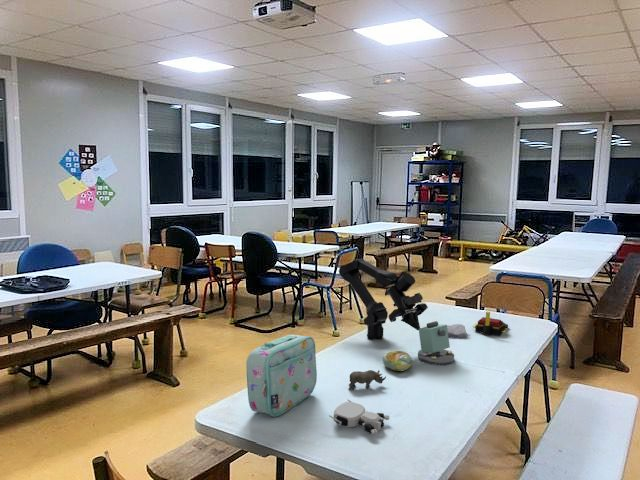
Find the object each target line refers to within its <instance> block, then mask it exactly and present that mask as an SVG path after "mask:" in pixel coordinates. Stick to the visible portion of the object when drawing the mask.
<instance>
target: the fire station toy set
mask: <svg viewBox="0 0 640 480" xmlns="http://www.w3.org/2000/svg"><path fill="white" fill-rule="evenodd" d="M472 327H473V328H475V329H474V330H475V331H474V332H475V333H476V332H477V333H481V334H482V335H484V336H493V335H494V336H501V335H502V334H503V333H505V332H507V330H508V328H509V323H505V322H504V321H503V320H502V319H498V318H497V319H496V318H491V311H486V312H485V316H483V317H481V318H480V319H479V320H477V323H474V324H473V325H472Z"/></svg>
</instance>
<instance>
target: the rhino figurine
mask: <svg viewBox="0 0 640 480" xmlns="http://www.w3.org/2000/svg"><path fill="white" fill-rule="evenodd" d="M386 378H387V376H386V375H385V376H384V377H383V373H380V369H378V370H377V371H375V370H371V369H370V370H365V371H352V372H351V373H350V374H349V382H350V383H349V384H348V390H349V391H353V390H354V388H356V387H357V386H356V384H357V383H359V384H361V385H364V384H365V389H367V390H369V389H371V387H370V386H371V385H370V384H371V383H372V382H373V381H375V382H376V383H378V384H382V383H383V382H384V381H385V380H386Z"/></svg>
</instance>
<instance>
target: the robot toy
mask: <svg viewBox="0 0 640 480" xmlns="http://www.w3.org/2000/svg"><path fill="white" fill-rule="evenodd" d="M346 400H347V401H346V402H343V403H341V404H339V405H337V406H336V408H335V409H334V411H333V416H332V415H331V414H329V415H328V417H329V418H331V419H333V421H334V422H335V424H337V425H340V427H343V428H353V427H356V426H360V427H361V428H363V429H364V431H365V432H367V433H368V434H372V435H376V434H378V431H380V430H381V429H383V428H384V426H385V423H384V422H385V421H384V420H386V421H389V420H390V415H387V414H384V412H383V413H382V412H376V413H375V412H373V411H368V410H367V411H366V408H365V406H363V404H359V403H356V402H353V401H352V400H350V399H346Z"/></svg>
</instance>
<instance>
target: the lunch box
mask: <svg viewBox="0 0 640 480" xmlns="http://www.w3.org/2000/svg"><path fill="white" fill-rule="evenodd" d="M316 356H317V355H316V343H315V340H314V338H313V337H312V336H304V335H297V334H293V333H292V334H288V335H284V336H283V337H278V338H276V339H274V340H271V341H269V342H264V344H262V345H260V346H258V347H256V348H255V349H252V351H251V352H250V353H249V354H248V356H247V358H246V368H245V369H246V386H247V388H246V389H247V399H248V404H249V407H250V409H251V411H252V412H256V413H261V414H266V415H269V416H271V417H273V418H275V417H279V416H282V415H283V414H284V413H286V412H288V411H289V410H291V409H292V408H294V407H295V406H296V405H298V404H300V403H301V402H302V401H303V400H305V399H306V398H308V397H309V396H311V395H312V394H313V392H314V390H315V387H316V385H317V378H318V377H317V376H318V375H317V373H318V370H317V360H316V359H317V357H316Z"/></svg>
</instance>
